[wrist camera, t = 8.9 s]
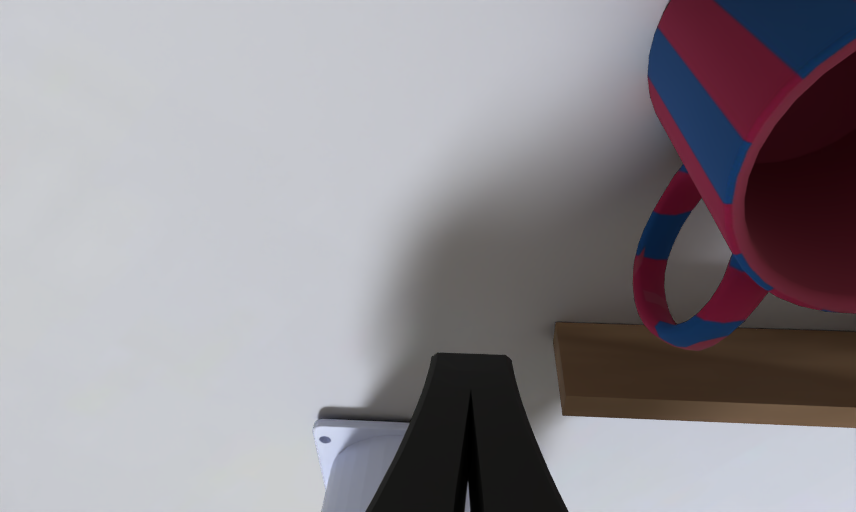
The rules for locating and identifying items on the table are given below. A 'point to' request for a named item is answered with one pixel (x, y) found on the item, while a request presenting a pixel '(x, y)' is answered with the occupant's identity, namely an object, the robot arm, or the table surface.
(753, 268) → the mug
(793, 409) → the frame
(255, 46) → the table surface
